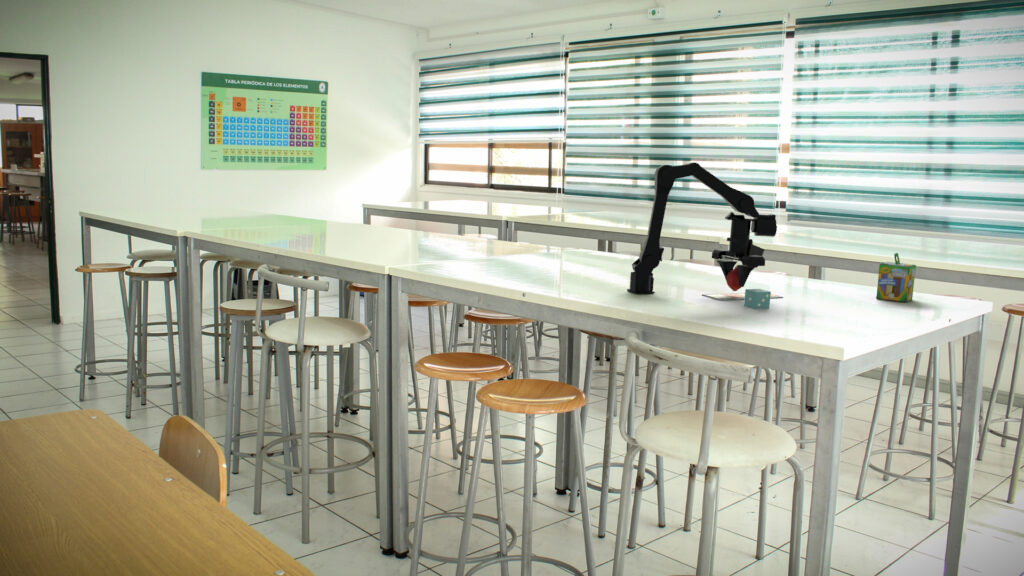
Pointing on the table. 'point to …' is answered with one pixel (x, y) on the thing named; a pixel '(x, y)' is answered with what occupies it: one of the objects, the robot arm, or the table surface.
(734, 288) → the onion
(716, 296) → the board
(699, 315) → the table surface
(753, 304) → the die
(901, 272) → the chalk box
